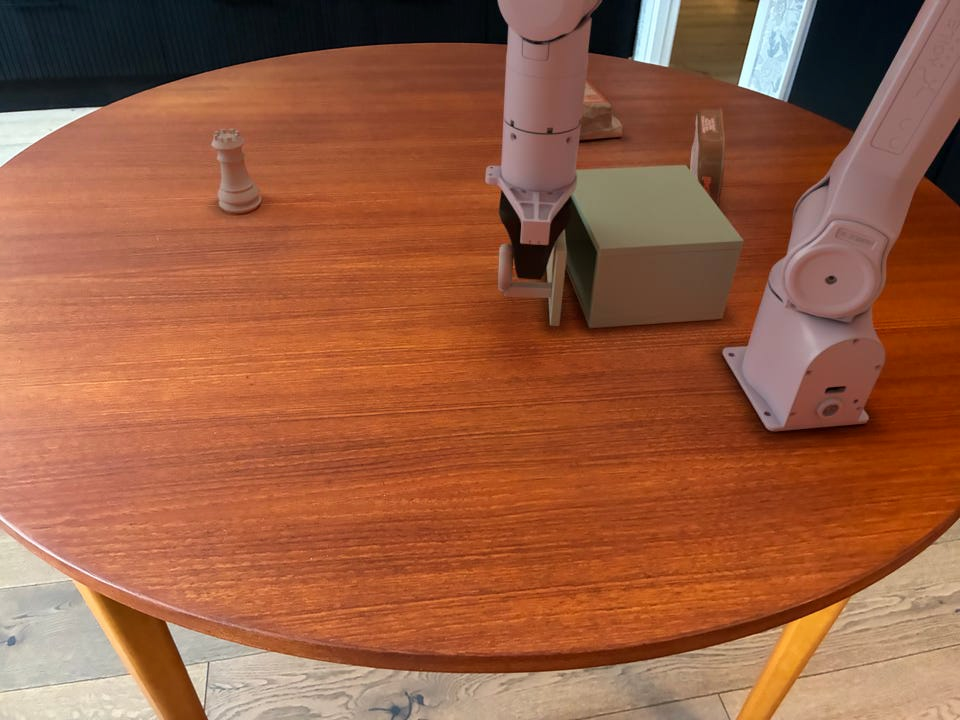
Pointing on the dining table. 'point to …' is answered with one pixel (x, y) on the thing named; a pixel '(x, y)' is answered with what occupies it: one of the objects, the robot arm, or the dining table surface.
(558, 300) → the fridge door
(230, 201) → the rook chess piece
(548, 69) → the robot arm
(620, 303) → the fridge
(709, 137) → the tin
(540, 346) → the dining table surface
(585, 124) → the packaged product
